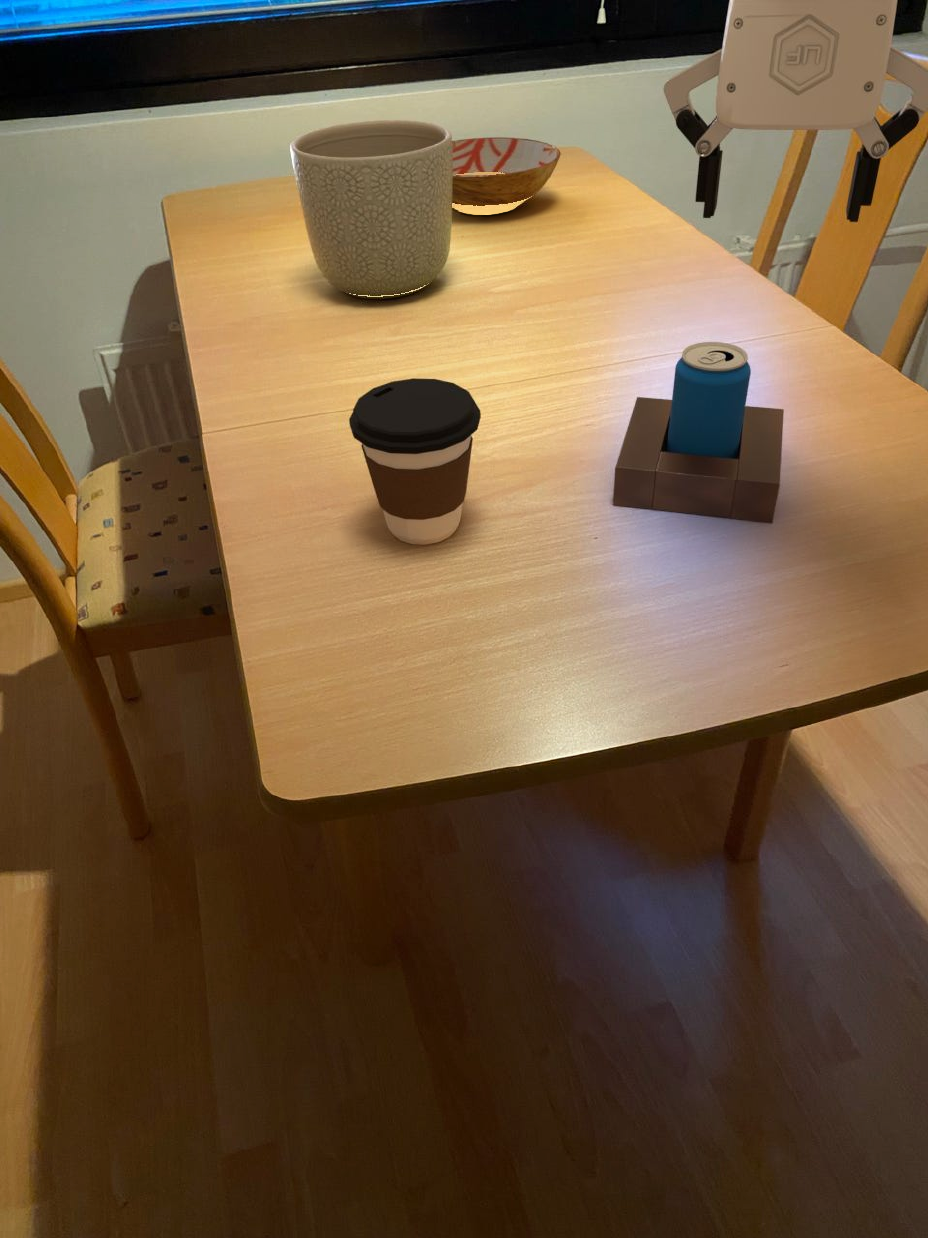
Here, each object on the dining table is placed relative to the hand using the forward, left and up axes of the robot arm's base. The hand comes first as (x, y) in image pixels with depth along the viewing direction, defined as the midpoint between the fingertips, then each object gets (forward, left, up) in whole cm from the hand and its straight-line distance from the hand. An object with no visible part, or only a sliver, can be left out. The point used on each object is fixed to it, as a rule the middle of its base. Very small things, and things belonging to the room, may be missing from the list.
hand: (779, 214), depth 66 cm
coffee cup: (+26, +6, -26) cm, 38 cm away
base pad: (+3, -8, -26) cm, 27 cm away
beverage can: (+3, -8, -26) cm, 28 cm away
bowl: (+46, -90, -26) cm, 104 cm away
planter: (+51, -51, -26) cm, 77 cm away
